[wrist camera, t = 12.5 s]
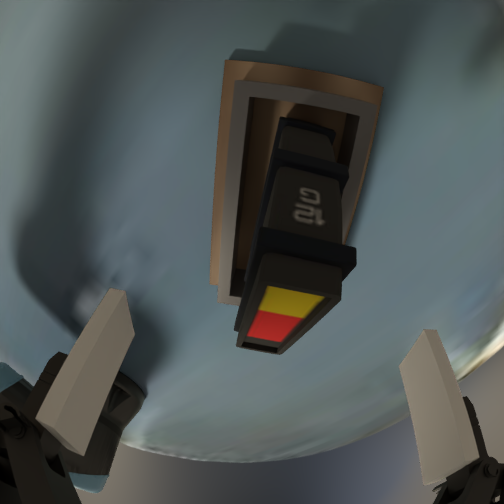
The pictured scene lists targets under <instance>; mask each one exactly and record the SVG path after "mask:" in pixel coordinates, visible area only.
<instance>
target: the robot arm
mask: <svg viewBox="0 0 504 504" xmlns="http://www.w3.org/2000/svg"><path fill="white" fill-rule="evenodd" d="M134 335H135V333H134V329H133V324H132V320H131V315H130V311H129V306H128V301H127V296H126V291H122V290H118V289H113V288H110V289H109V290H108V292H107V293H106V295H105V296H104V298H103V299H102V301H101V302H100V304H99V306H98V307H97V309H96V310H95V312H94V313H93V315H92V317H91V318H90V320H89V321H88V323H87V325H86V326H85V328H84V330H83V331H82V333H81V335H80V336H79V338H78V340H77V341H76V343H75V345H74V346H73V348H72V350H71V352H70V353H69V355H67V354H64V353H61V352H58V353H57V354H55V355H54V356H53V357H52V358H51V359H49V361H48V363H47V364H46V366H45V368H44V370H43V372H42V373H41V375H40V377H39V380H37V382H36V384H35V386H32V385H31V384H30V383H29V382H28V381H26V380H25V379H24V378H23V376H22V375H20V374H18V373H17V372H16V371H15V370H13V369H12V368H11V367H10V366H9V365H7V364H6V363H3V362H0V504H82V503H81V501H80V499H79V497H78V494H77V492H76V490H75V488H78V489H81V490H84V491H87V492H91V493H98V492H100V491H102V489H103V487H104V485H105V483H106V480H107V478H108V477H109V472H110V468H111V465H112V462H113V458H114V456H115V453H116V450H117V447H118V444H119V441H120V438H121V435H122V432H123V430H124V428H125V427H126V426H127V425H128V424H129V422H130V421H131V420H132V419H133V418H134V417H135V415H136V414H137V413H138V412H139V411H140V409H141V407H142V404H143V402H144V394H143V392H142V391H141V389H140V388H139V387H138V386H137V385H136V384H135V383H134V382H133V381H132V380H130V379H129V378H128V377H126V376H125V375H123V374H122V373H120V372H119V371H118V370H119V368H120V366H121V364H122V361H123V359H124V357H125V355H126V353H127V350H128V348H129V346H130V344H131V342H132V340H133V337H134ZM399 369H400V373H401V376H402V380H403V384H404V388H405V392H406V396H407V400H408V404H409V409H410V413H411V418H412V422H413V427H414V432H415V437H416V442H417V448H418V453H419V459H420V465H421V472H422V479H423V485H428V484H432V483H436V482H438V481H440V480H442V479H444V478H446V479H447V481H446V482H444V483H442V484H440V485H438V486H437V487H435V488H434V489H433V492H435V491H437V490H439V489H441V490H440V491H438V492H437V493H436V494H438V495H437V497H436V499H435V501H434V503H433V504H504V464H501V463H498V462H497V460H496V459H495V458H493V457H489V456H488V454H487V451H486V447H485V443H484V439H483V436H482V432H481V429H480V426H479V425H478V424H479V422H478V419H477V418H476V412H475V410H474V406H473V404H472V403H471V402H470V400H469V399H468V397H467V396H466V397H462V395H461V392H460V389H459V386H458V383H457V380H456V377H455V375H454V372H453V369H452V367H451V364H450V362H449V359H448V356H447V354H446V352H445V349H444V347H443V344H442V342H441V339H440V337H439V335H438V332H437V330H428V329H424V330H423V331H422V333H421V335H420V336H419V338H418V339H417V341H416V342H415V344H414V345H413V347H412V348H411V350H410V351H409V353H408V354H407V355H406V357H405V358H404V360H403V361H402V363H401V364H400V365H399ZM499 495H500V500H499V501H498V502H495V497H497V496H499Z"/></svg>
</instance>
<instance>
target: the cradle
mask: <svg viewBox="0 0 504 504" xmlns="http://www.w3.org/2000/svg"><path fill="white" fill-rule="evenodd" d="M255 97H258V98H266V99H274V100H281V101H287V102H294V103H300V104H306V105H311V106H317V107H322V108H327V109H331V110H336V111H341V112H345V113H347V116H346V121H345V126H344V131H343V136H342V141H341V146H340V151H339V156H338V160H337V163H339V164H343V165H346V166H347V167H348V172H349V179H348V181H347V183H346V186H345V188H344V190H343V192H342V194H341V204H342V222H343V242H344V238H345V235H346V232H347V228H348V225H349V221H350V218H351V214H352V211H353V207H354V204H355V200H356V196H357V192H358V189H359V185H360V181H361V177H362V173H363V169H364V165H365V161H366V157H367V153H368V148H369V144H370V139H371V135H372V130H373V126H374V121H375V116H376V111H377V106H378V105H375V104H372V103H369V102H366V101H363V100H359V99H355V98H351V97H347V96H342V95H338V94H333V93H329V92H324V91H319V90H313V89H308V88H302V87H296V86H290V85H283V84H276V83H268V82H260V81H251V80H235V82H234V92H233V101H232V111H231V121H230V131H229V142H228V153H227V165H226V177H225V189H224V202H223V216H222V230H221V246H220V262H219V280H218V299H217V302H218V303H224V304H231V305H237V306H240V302H241V298H242V294H243V290H244V286H245V281H244V277H245V273H246V270H244V269H238V268H236V263H237V253H238V243H239V233H240V224H241V214H242V205H243V195H244V186H245V177H246V168H247V159H248V150H249V141H250V133H251V124H252V116H253V107H254V99H255Z"/></svg>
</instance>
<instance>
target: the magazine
mask: <svg viewBox="0 0 504 504" xmlns="http://www.w3.org/2000/svg"><path fill="white" fill-rule="evenodd" d="M335 136H336V132H335V131H334V130H333V129H330V128H326V127H322V126H320V125H317V124H314V123H310V122H306V121H302V120H298V119H294V118H289V117H287V118H286V117H282V116H280V118H279V122H278V127H277V131H276V135H275V140H274V144H273V149H272V153H271V158H270V162H269V167H268V171H267V175H266V180H265V184H264V189H263V193H262V198H261V202H260V207H259V211H258V216H257V220H256V225H255V229H254V233H253V238H252V242H251V247H250V255H249V260H248V264H247V268H246V273H245V277H244V281H245V286H244V290H243V294H242V298H241V302H240V306H239V310H238V314H237V317H236V321H235V326H234V331H238V332H239V333H238V338H237V343H236V346H237V347H240V348H244V349H250V350H255V351H260V352H266V353H271V354H279V355H280V354H283V353H284V352H285V351H286V350H287V349H288V348H289V347H291V346H292V345H293V344H294V343H295V342H296V341H297V340H299V339H300V338H301V337H302V336H303V335H304V334H305V333H306V332H307V331H309V330H310V329H311V328H312V327H313V326H314V325H315V324H316V323H317V322H318V321H320V320H321V319H322V318H323V317H324V316H325V315H326V314H327V313H328V312H329V311H330V310H331V309H332V308H333V307H334V306H335V305H336V304H338V303H339V302H340V301H341V292H342V281H343V280H344V279H345V278H346V277H347V276H348V274H349V273H350V272H351V271H352V270H353V269H354V268H355V266H356V264H357V260H356V248H355V247H351V246H347V245H343V222H342V204H341V194H342V192H343V190H344V188H345V186H346V183H347V181H348V179H349V172H348V167H347V166H346V165H343V164H339V163H336V161H335V156H334V151H333V148H332V145H333V142H334V139H335Z"/></svg>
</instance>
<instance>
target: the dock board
mask: <svg viewBox="0 0 504 504" xmlns="http://www.w3.org/2000/svg"><path fill="white" fill-rule="evenodd" d="M235 80H251V81H260V82H268V83H276V84H283V85H290V86H296V87H302V88H308V89H313V90H319V91H324V92H329V93H333V94H338V95H342V96H347V97H351V98H355V99H359V100H363V101H366V102H369V103H372V104H375V105H378V106H377V111H376V116H375V121H374V126H373V130H372V135H371V139H370V144H369V148H368V153H367V157H366V161H365V165H364V169H363V173H362V177H361V181H360V185H359V189H358V192H357V196H356V200H355V204H354V207H353V211H352V214H351V218H350V221H349V225H348V228H347V232H346V235H345V238H344V242H343V245H345V243H346V240H347V237H348V233H349V230H350V227H351V223H352V220H353V217H354V213H355V210H356V206H357V202H358V199H359V195H360V191H361V188H362V184H363V180H364V176H365V172H366V168H367V164H368V160H369V156H370V152H371V147H372V143H373V139H374V134H375V130H376V125H377V120H378V115H379V110H380V105H381V100H382V95H383V89H384V87H381V86H377V85H374V84H370V83H366V82H363V81H359V80H355V79H351V78H347V77H342V76H338V75H334V74H329V73H324V72H319V71H314V70H308V69H303V68H297V67H290V66H283V65H276V64H268V63H259V62H249V61H236V60H225V66H224V76H223V85H222V96H221V106H220V117H219V129H218V141H217V154H216V168H215V183H214V199H213V216H212V237H211V260H210V284H212V285H218V280H219V262H220V246H221V230H222V216H223V202H224V189H225V177H226V165H227V153H228V142H229V131H230V121H231V111H232V101H233V92H234V82H235ZM280 116H282V117H286V118H287V117H289V118H294V119H298V120H302V121H306V122H310V123H314V124H317V125H320V126H322V127H326V128H330V129H333V130H334V131H335V132H336V136H335V139H334V142H333V145H332V148H333V151H334V156H335V161H336V163H337V160H338V156H339V151H340V146H341V141H342V136H343V131H344V126H345V121H346V116H347V113H345V112H341V111H336V110H331V109H327V108H322V107H317V106H311V105H306V104H300V103H294V102H287V101H281V100H274V99H266V98H258V97H255V99H254V107H253V116H252V124H251V133H250V141H249V150H248V159H247V168H246V177H245V186H244V195H243V205H242V214H241V224H240V233H239V243H238V253H237V263H236V268H238V269H244V270H246V268H247V264H248V260H249V255H250V247H251V242H252V238H253V233H254V229H255V225H256V220H257V216H258V211H259V207H260V202H261V198H262V193H263V189H264V184H265V180H266V175H267V171H268V167H269V162H270V158H271V153H272V149H273V144H274V140H275V135H276V131H277V127H278V122H279V118H280Z"/></svg>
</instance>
